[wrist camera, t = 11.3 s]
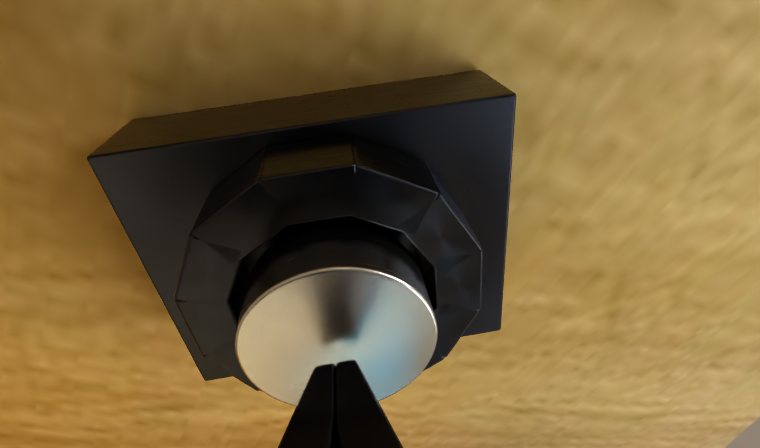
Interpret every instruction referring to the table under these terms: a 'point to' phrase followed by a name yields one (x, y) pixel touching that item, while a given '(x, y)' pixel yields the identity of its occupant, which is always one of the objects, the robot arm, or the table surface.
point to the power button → (335, 311)
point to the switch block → (319, 196)
